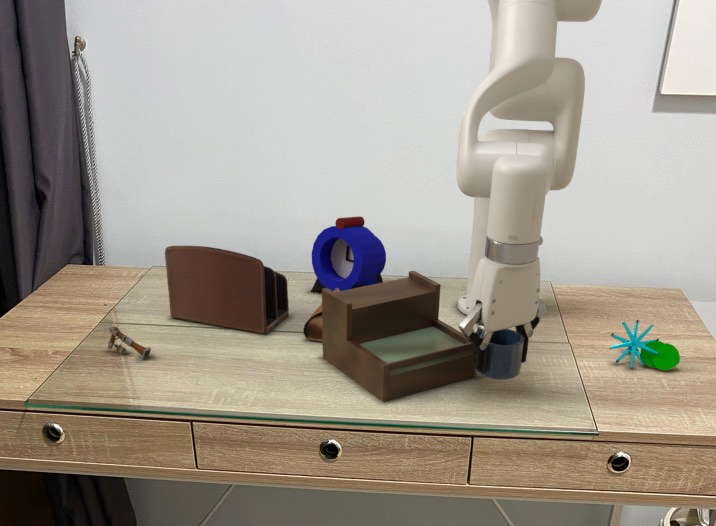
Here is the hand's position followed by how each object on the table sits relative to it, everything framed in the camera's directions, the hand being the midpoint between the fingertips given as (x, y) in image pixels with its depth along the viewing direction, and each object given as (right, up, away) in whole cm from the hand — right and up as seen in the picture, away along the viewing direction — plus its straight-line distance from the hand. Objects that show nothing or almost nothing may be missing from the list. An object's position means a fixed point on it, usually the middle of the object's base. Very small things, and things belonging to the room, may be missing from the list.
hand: (498, 363), depth 134 cm
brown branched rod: (-61, +4, +13) cm, 62 cm away
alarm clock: (-23, +23, +40) cm, 51 cm away
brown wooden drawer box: (-15, +2, +10) cm, 18 cm away
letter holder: (-46, +14, +27) cm, 55 cm away
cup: (0, -1, +1) cm, 1 cm away
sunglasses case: (-25, +12, +25) cm, 38 cm away
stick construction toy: (+26, +3, +13) cm, 29 cm away
